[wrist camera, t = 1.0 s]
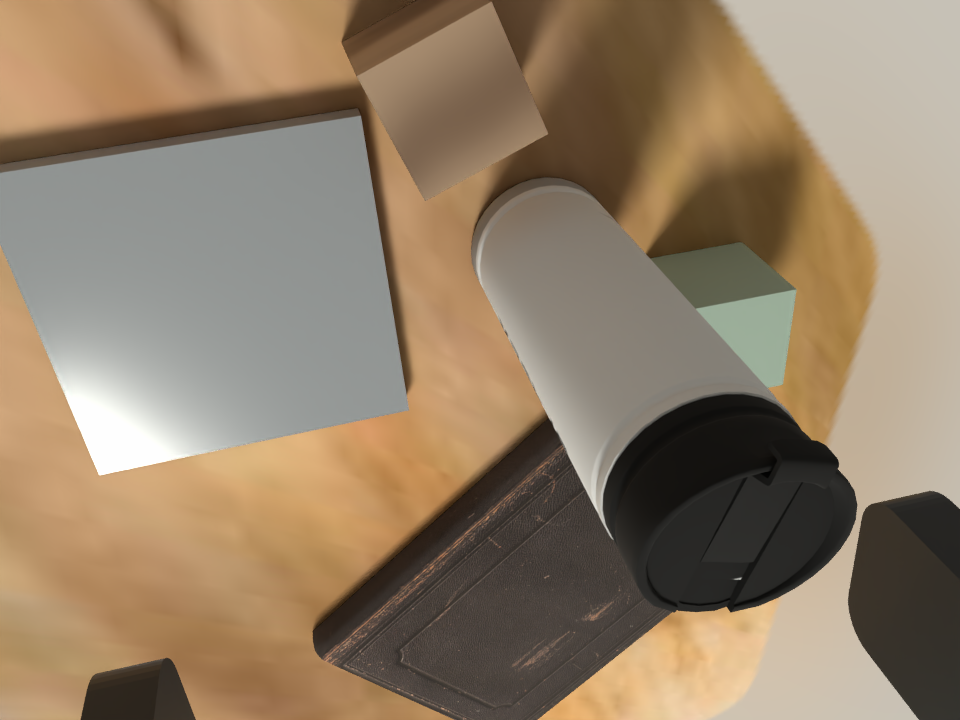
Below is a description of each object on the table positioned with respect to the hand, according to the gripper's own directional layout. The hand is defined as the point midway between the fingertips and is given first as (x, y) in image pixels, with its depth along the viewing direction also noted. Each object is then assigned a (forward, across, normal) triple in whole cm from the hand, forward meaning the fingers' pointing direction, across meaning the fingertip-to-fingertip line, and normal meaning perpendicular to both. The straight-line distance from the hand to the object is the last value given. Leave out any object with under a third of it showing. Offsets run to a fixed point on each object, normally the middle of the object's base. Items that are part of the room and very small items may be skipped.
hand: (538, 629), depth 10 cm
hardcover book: (+30, -8, +28) cm, 42 cm away
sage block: (+29, -15, +12) cm, 35 cm away
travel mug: (+28, -8, +8) cm, 30 cm away
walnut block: (+28, -3, 0) cm, 28 cm away
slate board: (+28, +6, +8) cm, 30 cm away
